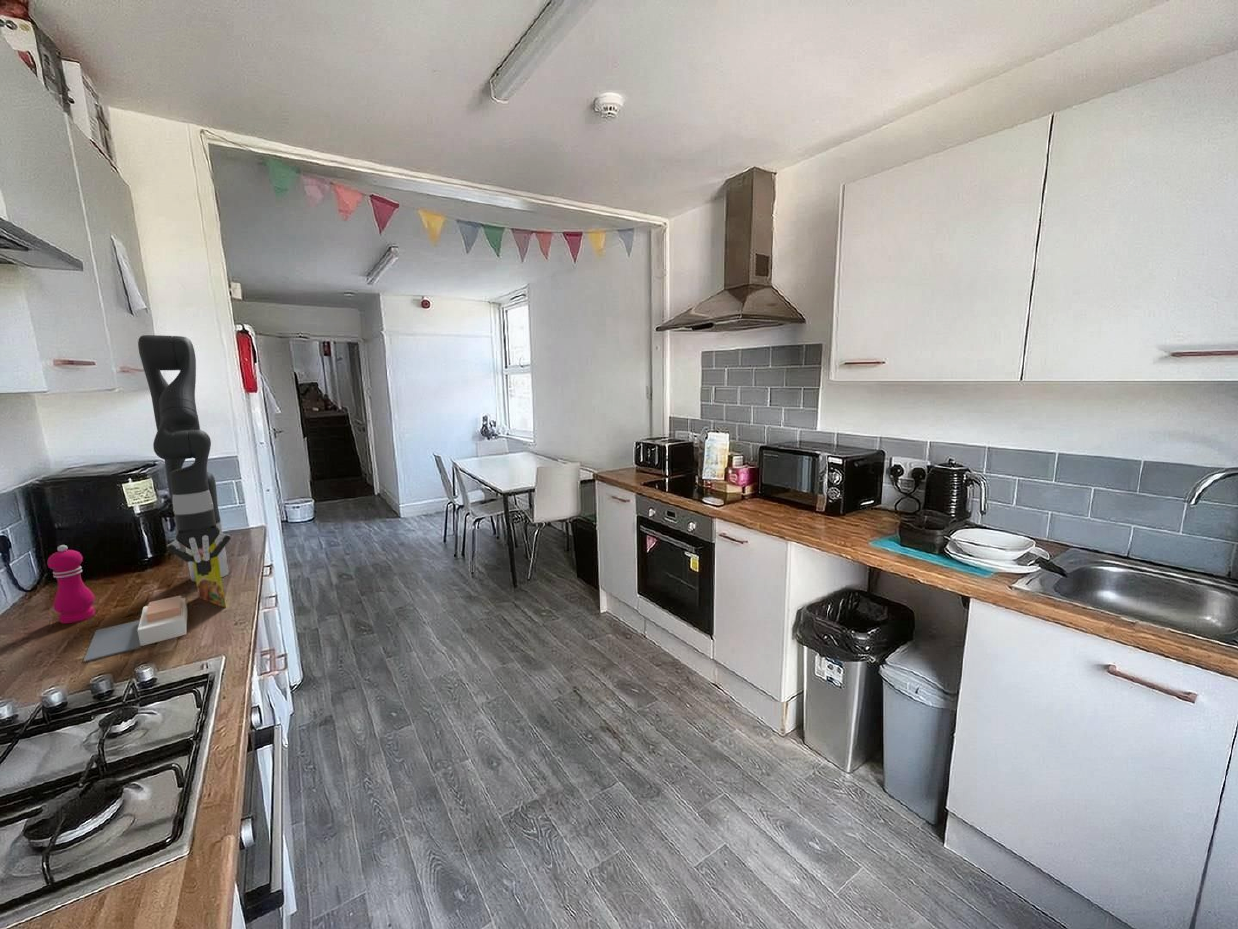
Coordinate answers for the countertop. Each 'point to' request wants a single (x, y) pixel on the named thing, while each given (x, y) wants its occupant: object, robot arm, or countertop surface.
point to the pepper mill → (70, 586)
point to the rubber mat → (113, 641)
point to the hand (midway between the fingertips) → (205, 574)
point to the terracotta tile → (164, 608)
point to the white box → (162, 627)
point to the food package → (210, 581)
